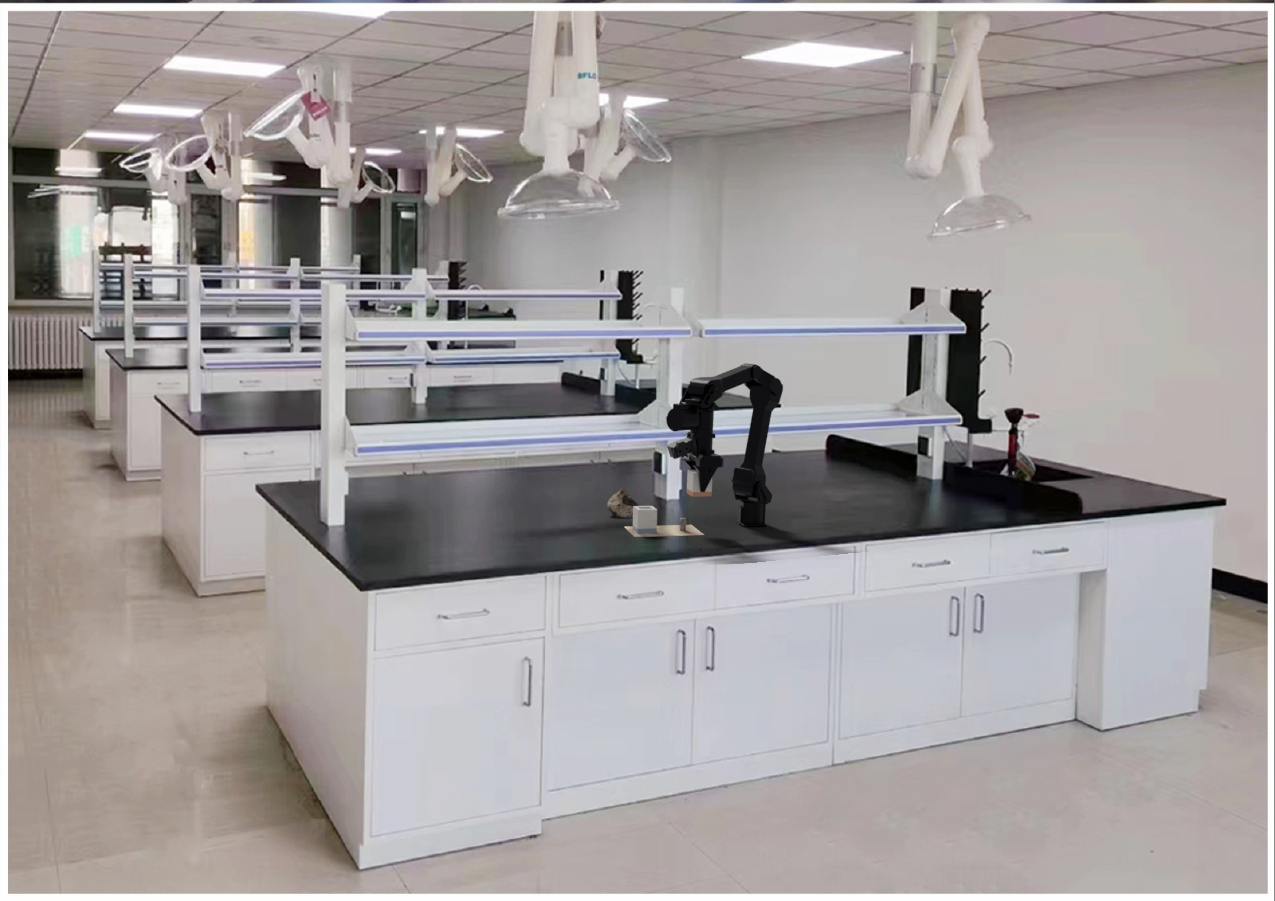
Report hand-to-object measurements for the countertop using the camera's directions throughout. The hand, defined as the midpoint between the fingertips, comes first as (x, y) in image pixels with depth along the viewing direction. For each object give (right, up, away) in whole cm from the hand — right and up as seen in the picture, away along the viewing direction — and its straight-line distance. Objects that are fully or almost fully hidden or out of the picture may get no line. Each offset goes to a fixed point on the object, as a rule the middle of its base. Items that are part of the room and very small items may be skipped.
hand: (699, 490), depth 322 cm
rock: (-19, -9, +19) cm, 28 cm away
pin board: (-9, -12, +1) cm, 15 cm away
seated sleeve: (-14, -10, 0) cm, 17 cm away
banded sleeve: (0, -1, 0) cm, 1 cm away
